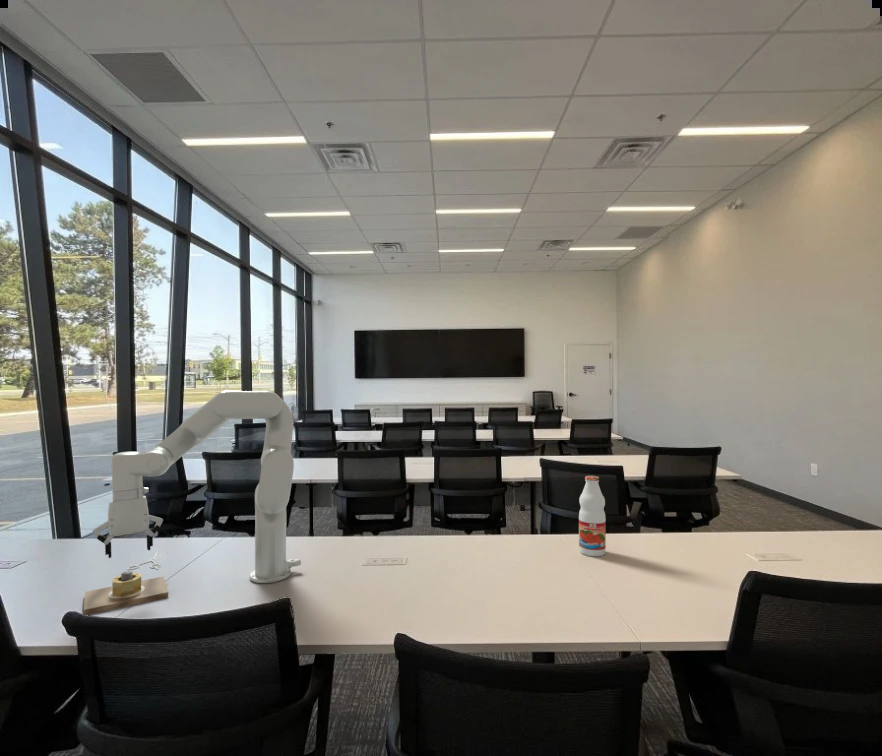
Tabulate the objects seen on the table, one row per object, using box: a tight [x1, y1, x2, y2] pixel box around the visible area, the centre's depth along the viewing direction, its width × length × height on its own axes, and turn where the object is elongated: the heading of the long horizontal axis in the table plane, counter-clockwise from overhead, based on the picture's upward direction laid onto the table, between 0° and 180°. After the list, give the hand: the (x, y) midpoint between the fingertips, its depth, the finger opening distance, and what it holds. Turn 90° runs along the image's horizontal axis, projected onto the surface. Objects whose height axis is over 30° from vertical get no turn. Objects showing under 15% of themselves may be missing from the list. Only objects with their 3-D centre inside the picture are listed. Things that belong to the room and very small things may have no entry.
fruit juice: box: [578, 475, 607, 557], centre depth 181 cm, size 9×9×28 cm
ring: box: [111, 572, 142, 597], centre depth 143 cm, size 7×7×4 cm
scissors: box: [126, 551, 168, 571], centre depth 173 cm, size 11×1×20 cm
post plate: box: [83, 570, 169, 616], centre depth 143 cm, size 20×14×7 cm
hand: (129, 552), depth 144 cm, fingers open, 9 cm apart
